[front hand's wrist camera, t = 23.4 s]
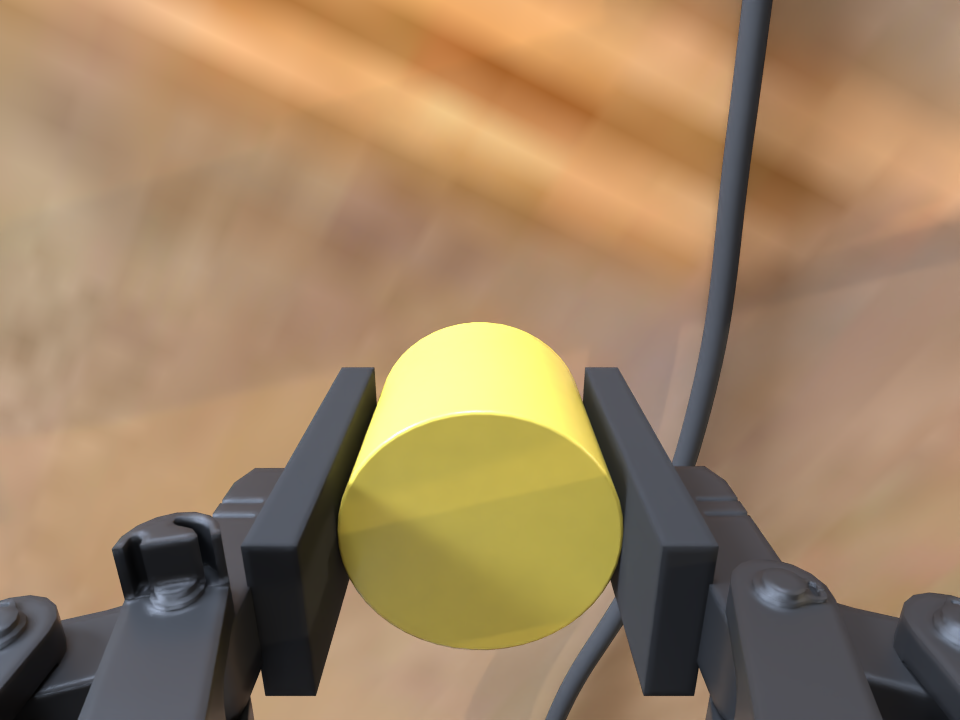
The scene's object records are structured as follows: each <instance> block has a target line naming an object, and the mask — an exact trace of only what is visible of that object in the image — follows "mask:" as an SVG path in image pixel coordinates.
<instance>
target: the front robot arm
mask: <svg viewBox="0 0 960 720" xmlns="http://www.w3.org/2000/svg"><path fill="white" fill-rule="evenodd" d="M772 1H773V0H743V1H742V9H741V18H740V26H739V34H738V43H737V51H736V60H735V68H734V76H733V84H732V92H731V101H730V109H729V117H728V125H727V133H726V141H725V149H724V157H723V166H722V175H721V184H720V193H719V203H718V213H717V223H716V234H715V244H714V254H713V264H712V273H711V282H710V290H709V298H708V306H707V313H706V320H705V326H704V332H703V338H702V344H701V349H700V354H699V359H698V364H697V368H696V373H695V377H694V382H693V386H692V390H691V395H690V399H689V403H688V407H687V411H686V415H685V419H684V423H683V426H682V430H681V434H680V438H679V441H678V445H677V448H676V452H675V455H674V458H673V461H672V463H671V461H670V459H669V457H668V455H667V454H666V452H665V450H664V448H663V447H662V445H661V443H660V441H659V440H658V438H657V436H656V434H655V433H654V431H653V429H652V427H651V426H650V424H649V422H648V420H647V418H646V417H645V415H644V413H643V411H642V410H641V408H640V406H639V404H638V403H637V401H636V399H635V397H634V396H633V394H632V392H631V390H630V389H629V387H628V385H627V383H626V382H625V380H624V378H623V376H622V374H621V373H620V371H619V369H618V368H585V379H584V394H583V405H584V407H585V410H586V413H587V415H588V418H589V420H590V423H591V426H592V428H593V431H594V434H595V436H596V439H597V442H598V444H599V447H600V450H601V452H602V455H603V458H604V460H605V463H606V466H607V468H608V471H609V474H610V476H611V479H612V482H613V484H614V487H615V490H616V492H617V495H618V498H619V500H620V505H621V510H622V514H623V539H622V549H621V553H620V557H619V560H618V564H617V566H616V569H615V571H614V573H613V576H612V578H611V583H612V587H613V590H614V594H615V598H614V600H613V602H612V603H611V605H610V606H609V608H608V610H607V611H606V613H605V614H604V616H603V618H602V619H601V621H600V622H599V624H598V625H597V627H596V628H595V630H594V631H593V633H592V635H591V636H590V638H589V639H588V641H587V642H586V644H585V645H584V647H583V648H582V650H581V651H580V653H579V655H578V656H577V658H576V659H575V661H574V663H573V664H572V666H571V668H570V670H569V671H568V673H567V675H566V677H565V678H564V680H563V682H562V684H561V686H560V688H559V690H558V692H557V694H556V696H555V698H554V701H553V703H552V705H551V707H550V710H549V712H548V714H547V717H546V719H545V720H566V719H567V716H568V714H569V712H570V710H571V708H572V706H573V704H574V702H575V700H576V698H577V696H578V694H579V692H580V690H581V689H582V687H583V685H584V684H585V682H586V680H587V678H588V677H589V675H590V674H591V672H592V670H593V669H594V667H595V666H596V664H597V663H598V661H599V660H600V658H601V657H602V655H603V654H604V652H605V651H606V649H607V648H608V646H609V645H610V643H611V642H612V640H613V639H614V637H615V636H616V634H617V633H618V631H619V630H620V628H621V627H622V625H624V629H625V632H626V636H627V639H628V643H629V646H630V650H631V653H632V657H633V660H634V664H635V667H636V670H637V674H638V677H639V681H640V684H641V688H642V691H643V695H644V696H694V693H695V687H696V681H697V675H698V669H699V668H700V671H701V673H702V676H703V678H704V681H705V683H706V686H707V688H708V691H709V693H710V698H709V703H708V709H707V714H706V720H960V598H958V597H955V596H952V595H944V594H937V593H924V594H917V595H913V596H912V597H911V598H909V599H908V600H907V601H906V602H904V605H903V608H902V611H901V615H900V618H897V617H892V616H888V615H883V614H879V613H874V612H870V611H865V610H861V609H856V608H852V607H849V606H845V605H842V604H838V603H837V602H836V600H835V598H834V597H833V595H832V594H831V592H830V591H829V589H828V588H827V586H826V585H825V584H823V583H822V582H821V581H820V580H818V579H817V578H816V577H815V576H813V575H812V574H810V573H808V572H806V571H804V570H802V569H800V568H798V567H796V566H794V565H791V564H788V563H784V562H781V560H780V559H779V557H778V556H777V555H776V553H775V552H774V550H773V549H772V547H771V546H770V544H769V543H768V541H767V540H766V539H765V537H764V536H763V534H762V533H761V531H760V530H759V528H758V527H757V526H756V524H755V523H754V521H753V520H752V518H751V517H750V516H748V515H747V511H746V510H745V508H744V507H743V505H742V504H741V502H740V501H738V500H737V497H736V495H735V494H734V492H733V491H732V489H731V488H730V486H729V485H728V484H727V482H726V481H725V480H724V479H722V478H721V477H719V476H718V475H716V474H715V473H714V472H712V471H711V470H709V469H708V468H706V467H705V466H695V465H696V462H697V458H698V455H699V452H700V449H701V445H702V442H703V438H704V435H705V431H706V428H707V424H708V420H709V416H710V413H711V409H712V405H713V401H714V397H715V393H716V389H717V385H718V381H719V377H720V372H721V368H722V363H723V359H724V354H725V349H726V344H727V338H728V333H729V328H730V322H731V315H732V309H733V302H734V295H735V288H736V280H737V273H738V264H739V256H740V247H741V238H742V229H743V220H744V211H745V203H746V194H747V186H748V178H749V170H750V162H751V155H752V148H753V140H754V133H755V126H756V119H757V112H758V104H759V97H760V90H761V83H762V75H763V68H764V61H765V53H766V46H767V39H768V31H769V24H770V16H771V9H772ZM376 406H377V401H376V386H375V370H374V368H341V370H340V372H339V374H338V375H337V377H336V379H335V381H334V383H333V384H332V386H331V388H330V390H329V391H328V393H327V395H326V397H325V398H324V400H323V402H322V404H321V405H320V407H319V409H318V411H317V412H316V414H315V416H314V418H313V419H312V421H311V423H310V425H309V427H308V428H307V430H306V432H305V434H304V435H303V437H302V439H301V441H300V442H299V444H298V446H297V448H296V449H295V451H294V453H293V455H292V456H291V458H290V460H289V462H288V463H287V465H286V467H285V468H255V469H253V470H252V471H250V472H249V473H248V474H246V475H245V476H243V477H242V478H240V479H239V480H238V481H236V482H235V483H234V484H233V485H232V487H231V488H230V490H229V491H228V493H227V494H226V496H225V497H224V499H223V502H222V503H220V504H219V506H218V507H217V509H216V510H215V512H214V513H213V517H211V516H210V515H206V514H201V513H197V512H183V513H174V514H169V515H165V516H161V517H156V518H154V519H152V520H149V521H147V522H145V523H142V524H140V525H138V526H136V527H135V528H133V529H132V530H130V531H129V532H128V533H126V534H125V535H123V536H122V537H121V538H120V539H119V541H118V542H117V543H116V544H115V546H114V547H113V548H112V552H113V556H114V560H115V564H116V567H117V571H118V575H119V579H120V583H121V587H122V591H123V595H124V598H125V601H124V603H123V606H120V607H117V608H113V609H110V610H106V611H102V612H97V613H93V614H88V615H84V616H79V617H75V618H70V619H66V620H60V616H59V613H58V610H57V607H56V605H55V604H54V603H53V602H51V601H50V600H49V599H48V598H45V597H39V596H32V595H29V596H21V597H13V598H8V599H5V600H1V601H0V720H254V716H253V709H252V703H251V698H250V695H251V693H252V690H253V688H254V685H255V683H256V680H257V678H258V675H259V673H260V670H261V672H262V678H263V684H264V690H265V696H316V693H317V690H318V686H319V683H320V679H321V676H322V673H323V669H324V666H325V662H326V659H327V655H328V652H329V648H330V645H331V641H332V638H333V634H334V631H335V627H336V624H337V620H338V617H339V613H340V610H341V606H342V603H343V599H344V596H345V592H346V589H347V585H348V582H349V576H348V574H347V571H346V569H345V567H344V564H343V562H342V558H341V554H340V550H339V546H338V534H337V525H338V513H339V509H340V504H341V500H342V497H343V494H344V491H345V489H346V486H347V483H348V481H349V478H350V475H351V473H352V470H353V467H354V465H355V462H356V459H357V457H358V454H359V451H360V448H361V446H362V443H363V440H364V438H365V435H366V432H367V430H368V427H369V424H370V422H371V419H372V416H373V414H374V411H375V408H376Z"/></svg>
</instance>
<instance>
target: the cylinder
mask: <svg viewBox="0 0 960 720" xmlns="http://www.w3.org/2000/svg"><path fill="white" fill-rule="evenodd" d="M337 534H338V546H339V550H340V554H341V558H342V562H343V564H344V567H345V569H346V571H347V574H348V576H349V578H350V580H351V582H352V583H353V585H354V587H355V588H356V590H357V591H358V593H359V594H360V595H361V596H362V598H363V599H364V600H365V602H366V603H367V604H368V605H369V606H370V607H371V608H372V609H373V610H374V611H375V612H376V613H378V614H379V615H380V616H381V617H383V618H384V619H385V620H387V621H388V622H389V623H391V624H392V625H394V626H395V627H397V628H399V629H401V630H402V631H404V632H406V633H408V634H410V635H412V636H415V637H417V638H419V639H421V640H425V641H428V642H431V643H434V644H437V645H442V646H446V647H451V648H458V649H467V650H493V649H503V648H509V647H514V646H519V645H523V644H527V643H530V642H533V641H536V640H539V639H541V638H544V637H546V636H548V635H551V634H553V633H555V632H557V631H558V630H560V629H562V628H564V627H565V626H567V625H569V624H570V623H571V622H573V621H574V620H575V619H577V618H578V617H580V616H581V615H582V614H583V613H584V612H585V611H586V610H587V609H588V608H589V607H590V606H592V605H593V603H594V602H595V601H596V600H597V599H598V597H599V596H600V595H601V594H602V592H603V591H604V589H605V588H606V586H607V585H608V583H609V581H610V580H611V578H612V576H613V573H614V571H615V569H616V566H617V564H618V560H619V557H620V553H621V549H622V539H623V514H622V510H621V505H620V500H619V498H618V495H617V492H616V490H615V487H614V484H613V482H612V479H611V476H610V474H609V471H608V468H607V466H606V463H605V460H604V458H603V455H602V452H601V450H600V447H599V444H598V442H597V439H596V436H595V434H594V431H593V428H592V426H591V423H590V420H589V418H588V415H587V413H586V410H585V407H584V405H583V402H582V399H581V397H580V394H579V391H578V389H577V386H576V383H575V381H574V378H573V376H572V375H571V373H570V371H569V369H568V367H567V366H566V365H565V363H564V362H563V361H562V360H561V358H560V357H559V356H558V355H557V354H556V353H555V352H554V351H553V350H552V349H551V348H550V347H549V346H547V345H546V344H545V343H543V342H542V341H541V340H539V339H537V338H536V337H534V336H532V335H530V334H529V333H526V332H524V331H521V330H519V329H516V328H513V327H509V326H506V325H502V324H494V323H466V324H459V325H455V326H451V327H447V328H444V329H442V330H439V331H437V332H434V333H432V334H430V335H428V336H427V337H425V338H423V339H421V340H420V341H419V342H417V343H416V344H415V345H413V346H412V347H411V348H410V349H408V350H407V351H406V352H405V353H404V354H403V355H402V356H401V358H400V359H399V360H398V361H397V363H396V364H395V365H394V367H393V368H392V370H391V372H390V374H389V375H388V377H387V379H386V382H385V384H384V387H383V389H382V392H381V395H380V397H379V400H378V403H377V406H376V408H375V411H374V414H373V416H372V419H371V422H370V424H369V427H368V430H367V432H366V435H365V438H364V440H363V443H362V446H361V448H360V451H359V454H358V457H357V459H356V462H355V465H354V467H353V470H352V473H351V475H350V478H349V481H348V483H347V486H346V489H345V491H344V494H343V497H342V500H341V504H340V509H339V513H338V525H337Z"/></svg>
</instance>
